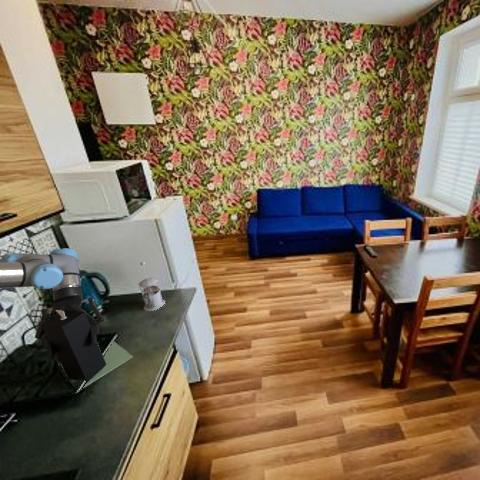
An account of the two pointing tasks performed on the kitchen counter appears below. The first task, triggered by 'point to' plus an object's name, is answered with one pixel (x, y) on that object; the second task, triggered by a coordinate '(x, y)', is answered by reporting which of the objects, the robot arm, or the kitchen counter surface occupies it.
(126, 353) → the mat
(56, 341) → the tissue box
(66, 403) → the kitchen counter surface
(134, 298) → the kitchen counter surface
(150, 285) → the french press
